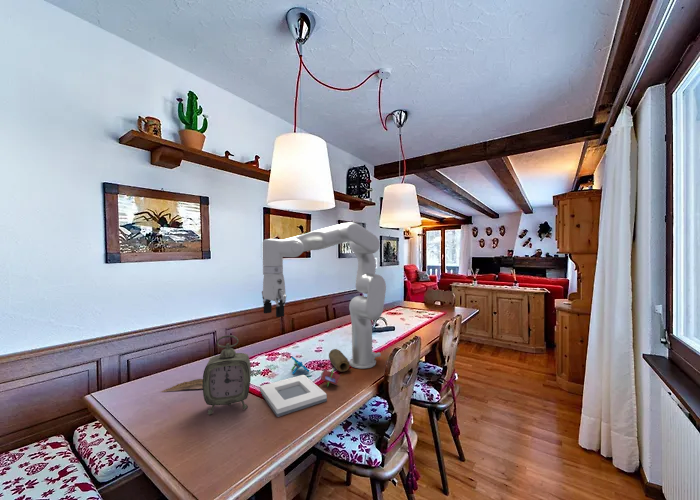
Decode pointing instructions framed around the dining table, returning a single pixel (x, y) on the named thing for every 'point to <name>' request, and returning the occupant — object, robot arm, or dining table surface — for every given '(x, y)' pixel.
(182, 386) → the wooden fragment
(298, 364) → the gear
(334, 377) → the geometric puzzle
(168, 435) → the dining table surface
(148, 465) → the dining table surface
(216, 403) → the tabletop clock
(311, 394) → the square picture frame
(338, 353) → the stone weight
